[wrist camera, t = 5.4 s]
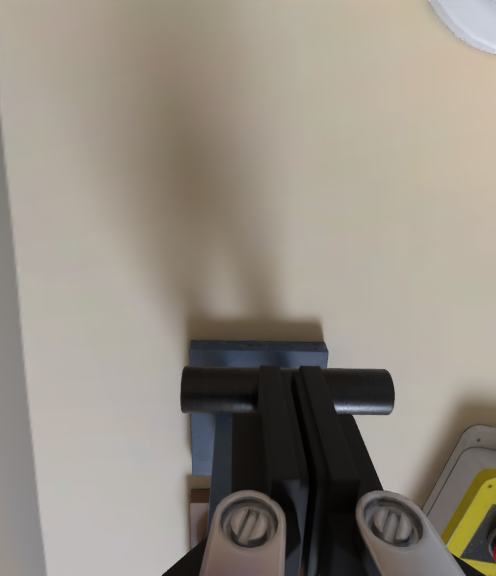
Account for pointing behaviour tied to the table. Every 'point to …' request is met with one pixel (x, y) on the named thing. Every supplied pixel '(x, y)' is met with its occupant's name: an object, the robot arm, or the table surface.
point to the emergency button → (468, 500)
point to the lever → (245, 381)
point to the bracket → (218, 426)
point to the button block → (198, 515)
